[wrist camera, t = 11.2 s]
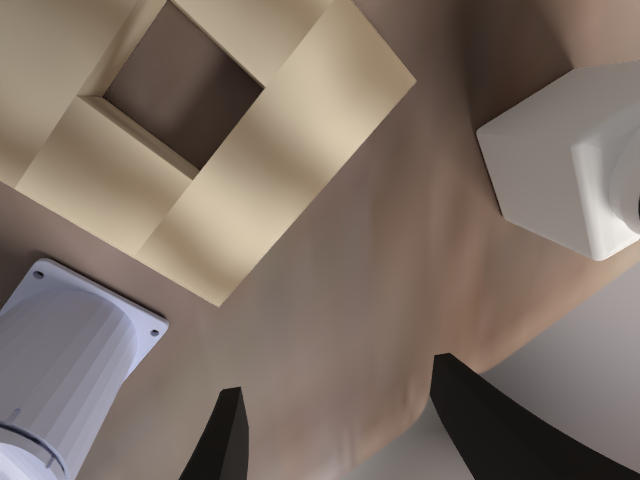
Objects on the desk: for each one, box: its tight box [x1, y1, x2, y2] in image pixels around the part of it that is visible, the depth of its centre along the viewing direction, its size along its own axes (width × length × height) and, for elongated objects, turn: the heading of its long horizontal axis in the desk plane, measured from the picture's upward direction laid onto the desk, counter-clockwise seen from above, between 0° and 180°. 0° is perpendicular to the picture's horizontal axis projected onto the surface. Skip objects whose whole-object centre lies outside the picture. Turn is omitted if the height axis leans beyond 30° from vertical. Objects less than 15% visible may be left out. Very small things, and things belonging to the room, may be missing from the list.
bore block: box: [0, 0, 416, 307], centre depth 15 cm, size 16×16×2 cm
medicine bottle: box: [476, 60, 640, 261], centre depth 16 cm, size 7×7×12 cm
